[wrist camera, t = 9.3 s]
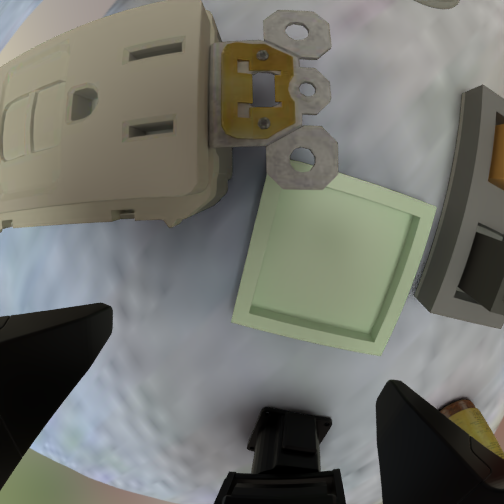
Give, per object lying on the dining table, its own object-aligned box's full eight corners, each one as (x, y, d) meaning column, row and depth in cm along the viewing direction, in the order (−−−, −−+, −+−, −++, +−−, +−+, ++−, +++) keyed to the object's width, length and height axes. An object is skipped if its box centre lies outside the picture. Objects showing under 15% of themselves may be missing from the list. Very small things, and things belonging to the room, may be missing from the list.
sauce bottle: (425, 410, 22) (486, 576, 2) (477, 387, 20) (557, 527, 1) (421, 445, 23) (461, 587, 4) (468, 425, 22) (524, 551, 2)
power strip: (482, 313, 19) (500, 329, 16) (414, 295, 19) (430, 312, 16) (526, 137, 15) (548, 135, 12) (462, 93, 15) (482, 84, 12)
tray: (375, 344, 20) (380, 356, 19) (235, 311, 21) (231, 322, 19) (425, 204, 18) (436, 207, 16) (273, 157, 18) (271, 154, 17)
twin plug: (480, 289, 18) (529, 325, 11) (446, 279, 18) (496, 317, 11) (496, 242, 17) (552, 266, 10) (463, 227, 17) (521, 248, 10)
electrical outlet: (8, 110, 19) (-64, 102, 9) (305, 53, 17) (329, -28, 8) (7, 222, 22) (-66, 244, 12) (309, 209, 20) (347, 235, 10)
